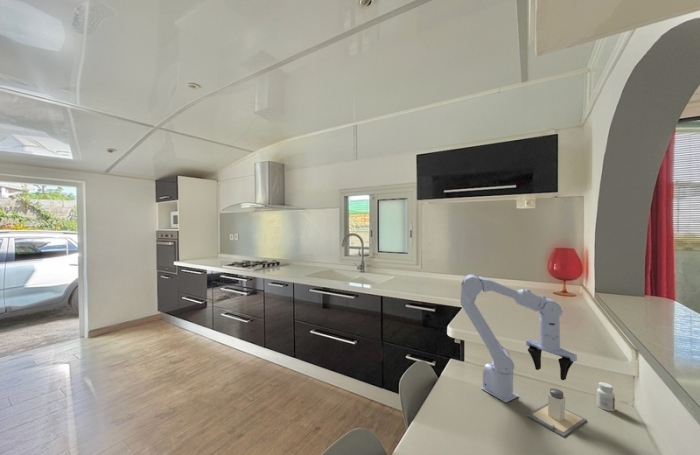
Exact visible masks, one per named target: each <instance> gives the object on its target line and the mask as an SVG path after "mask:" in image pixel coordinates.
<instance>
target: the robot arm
mask: <svg viewBox="0 0 700 455" xmlns="http://www.w3.org/2000/svg"><path fill="white" fill-rule="evenodd" d="M463 277H464V278H463V279H462V282H461V284H460V297H459V298H460V299H459V300H460V305H461V307H462V308H463V310H464V311H465V313H466V315H467V317H468V318H469V320H470V322H471V323H472V325H473V327H474V328H475V331H477V333H478V334H479V337H480V338H481V339H482V342H483V343H484V345H485V347H486V348H487V350H488V352H489V354H490V356H491V358H492V362H491V363H490V362H488V363H486V364H485V365H484V366H483V369H482V387H481V390H483V391H485V392H487V393H488V394H490V395H491V396H493V397H495V398H496V399H499V400H501V401H502V402H504V403H508V402H511V401H513V400H514V399H516V398H518V397H519V394H517V393H516V392H514V370H515V363H514V361H513V360H512V357H511V356H510V352H509V350H508V349H507V348H506V347H504V346H502V344H501V343H500V341H499V340H498V338H497V337H496V335H495V334H494V332H493V330H492V329H491V327H490V326H489V324H488V323H487V320H486V319H485V318H484V315H483V314H482V312H481V311H480V309H479V308H478V306H477V305H476V303H475V302H476V299H477V296H478V295H479V294H480V293H481V292H483V293H486V292H490V291H491V292H494V293H497V294H500V295H503V296H506V297H508V298H512V299H513V300H514V301H515V303H516V304H517V305H520V306H522V307H524V308H527V309H530V310H532V311H535V312H539V320H538V322H539V323H538V324H539V326H538V327H539V329H538V330H539V331H538V332H539V341H537V340H532V339H526V340H525V345H526V346H527V347H528V348H527V352H528V354H529V355H530V357H531V359H532V361H533V364H534V368H535V370H537V371H538V370H541V368H542V360H541V359H542V352H546V353H549V354H551V355H552V354H553V355H555V356H558V357H560V358H558V364H559V371H560V373H559V374H560V380H561V381H565V380H566V379H567V376H568V373H569V371H570V368H571V366H572V364H574V362H577V361H578V358H577V356H578V355H577V354H576V353H573V352H571V351H569V350H566V349H564V348H562V347H561V329H560V327H561V322H560V317H561V316H562V315H563V312H564V311H563V310H562V307H561V305H560V304H559V303H557V301H555V300H553V299H552V298H549V297H547V296H546V295H543V294H542V295H539V294H537V293H536V292H535V293H534V292H532V290H531V289H529V288H526V289H523V288H520V289H514V288H511V287H510V286H507V285H505V284H502V283H500V282H498V281H495V280H492V279H490V278H487V277H484V276H480V275H479V276H477V275H476V274H472V273H470V274H467V275H466V276H463Z"/></svg>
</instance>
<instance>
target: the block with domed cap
mask: <svg viewBox="0 0 700 455" xmlns="http://www.w3.org/2000/svg"><path fill="white" fill-rule="evenodd" d="M547 396H548V397H547V400H548V402H547V404H548V416H550V417H552V418H554V419H556V420H558V421H562V420H563V419H565V409H566V397H565V396H564V392H563V391H562V390H560V389H557V388H555V387H553V388H550V389H549V393H548V394H547Z"/></svg>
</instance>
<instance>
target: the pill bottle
mask: <svg viewBox="0 0 700 455" xmlns="http://www.w3.org/2000/svg"><path fill="white" fill-rule="evenodd" d="M613 390H614V388H613V385H611V384H610V383H607V382H603V381H600V382H598V388H597V389H596V406H598V408H600V409H602V410H604V411H608V412H614V411H615V409H616V408H615V406H616V404H615V402H616V399H615V397H616V396H615V393H614V392H613Z"/></svg>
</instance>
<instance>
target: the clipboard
mask: <svg viewBox="0 0 700 455" xmlns="http://www.w3.org/2000/svg"><path fill="white" fill-rule="evenodd" d="M526 417H528V418H529V419H531V420H532V421H535V422H536V423H538V424H539V425H541V426H543V427H544V428H546V429H548V430H550V431H552V432H554V433H555V434H557V435H559V436H561V437H563V438H565V437H567V435H569V434H570V433H572V432H574V431H575V430H576V429H578V428H579V427H580V426H582V425H583V424H585V423H586V422H587V421H588V419H587V418H584V417H582V416H580V415H578V414H576V413H574V412H572V411H570V410H568V409H566V408H565V419H563V420H562V421H558V420H556V419H554V418H552V417H550V416H548V403H546V404H543V405H542V406H540V407H539V408H537V409H535V410H534V411H531V412H530V413H527V414H526Z"/></svg>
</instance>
